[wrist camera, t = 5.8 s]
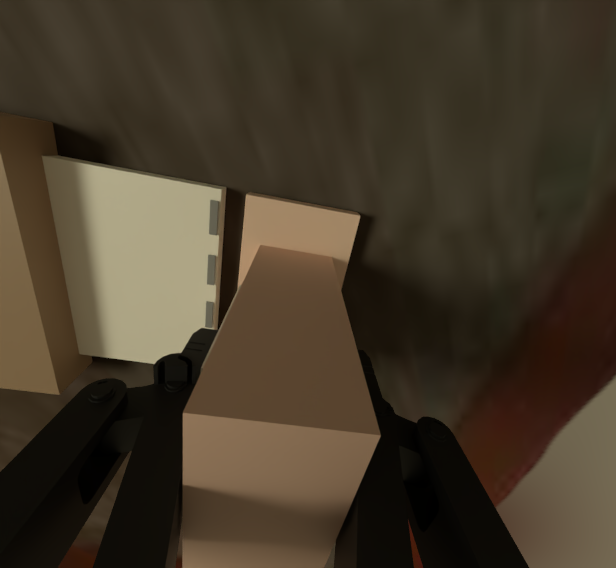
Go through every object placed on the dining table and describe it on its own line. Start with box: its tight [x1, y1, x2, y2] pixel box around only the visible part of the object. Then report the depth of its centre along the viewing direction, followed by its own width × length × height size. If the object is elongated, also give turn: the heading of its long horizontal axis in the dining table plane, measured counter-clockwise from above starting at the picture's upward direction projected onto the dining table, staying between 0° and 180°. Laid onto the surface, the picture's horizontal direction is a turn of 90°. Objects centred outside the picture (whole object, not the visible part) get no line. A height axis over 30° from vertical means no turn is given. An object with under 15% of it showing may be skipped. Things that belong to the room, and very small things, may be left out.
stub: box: [183, 192, 381, 568], centre depth 13 cm, size 6×12×12 cm, turn 169°
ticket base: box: [0, 112, 226, 395], centre depth 16 cm, size 14×15×3 cm
